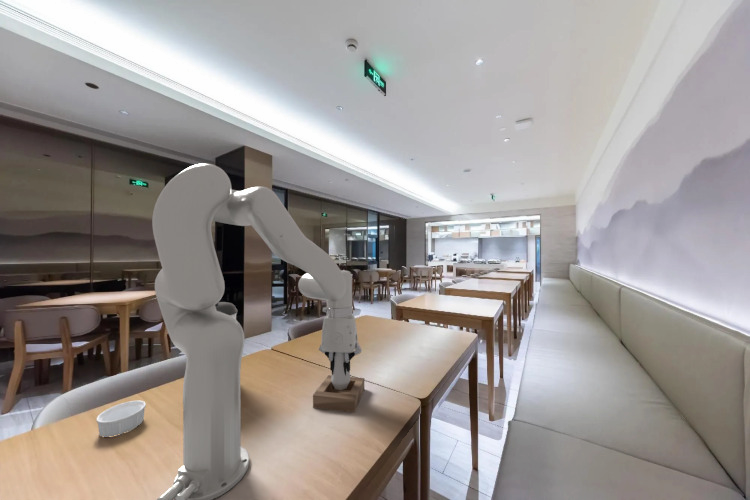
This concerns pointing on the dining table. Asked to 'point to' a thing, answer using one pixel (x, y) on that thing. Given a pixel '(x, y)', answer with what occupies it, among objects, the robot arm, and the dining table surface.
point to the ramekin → (121, 418)
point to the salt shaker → (340, 373)
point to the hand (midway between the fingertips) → (340, 372)
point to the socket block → (339, 395)
